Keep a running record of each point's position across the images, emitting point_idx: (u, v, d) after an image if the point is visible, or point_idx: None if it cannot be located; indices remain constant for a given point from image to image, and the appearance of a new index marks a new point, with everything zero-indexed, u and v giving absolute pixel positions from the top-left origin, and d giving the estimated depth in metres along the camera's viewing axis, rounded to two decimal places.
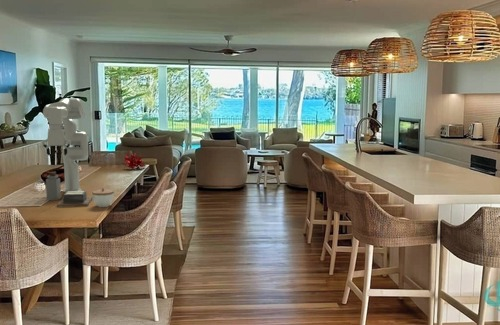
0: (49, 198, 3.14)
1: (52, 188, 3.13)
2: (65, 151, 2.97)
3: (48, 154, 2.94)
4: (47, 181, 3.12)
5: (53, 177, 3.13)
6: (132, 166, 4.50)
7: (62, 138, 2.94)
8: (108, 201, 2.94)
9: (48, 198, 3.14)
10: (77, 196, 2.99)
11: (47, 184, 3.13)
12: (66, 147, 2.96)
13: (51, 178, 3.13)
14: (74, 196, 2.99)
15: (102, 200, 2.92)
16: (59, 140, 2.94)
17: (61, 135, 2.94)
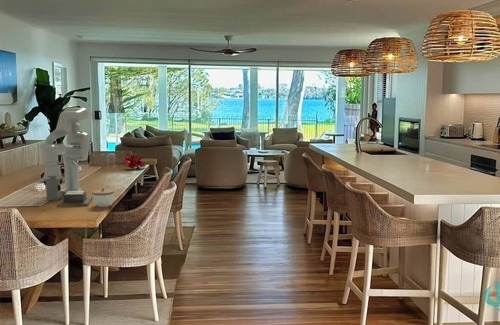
0: (49, 198, 3.14)
1: (52, 188, 3.13)
2: (58, 187, 3.16)
3: None
4: (47, 181, 3.12)
5: (53, 177, 3.13)
6: (132, 166, 4.50)
7: (58, 174, 3.14)
8: (108, 201, 2.94)
9: (48, 198, 3.14)
10: (77, 196, 2.99)
11: (47, 184, 3.13)
12: (59, 184, 3.16)
13: (51, 178, 3.13)
14: (74, 196, 2.99)
15: (102, 200, 2.92)
16: None
17: (57, 171, 3.13)
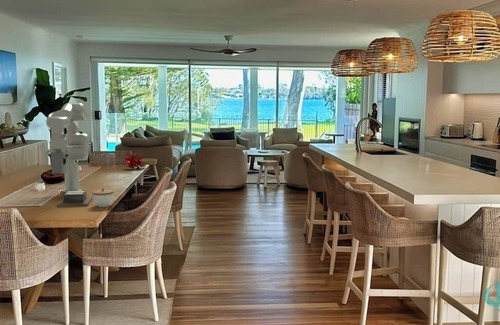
0: (54, 171, 3.07)
1: (57, 162, 3.07)
2: (64, 161, 3.09)
3: None
4: (52, 154, 3.06)
5: (58, 150, 3.07)
6: (132, 166, 4.50)
7: (63, 147, 3.07)
8: (108, 201, 2.94)
9: (53, 171, 3.07)
10: (77, 196, 2.99)
11: (52, 157, 3.06)
12: (65, 157, 3.09)
13: (56, 151, 3.07)
14: (74, 196, 2.99)
15: (102, 200, 2.92)
16: (61, 149, 3.07)
17: (62, 144, 3.07)
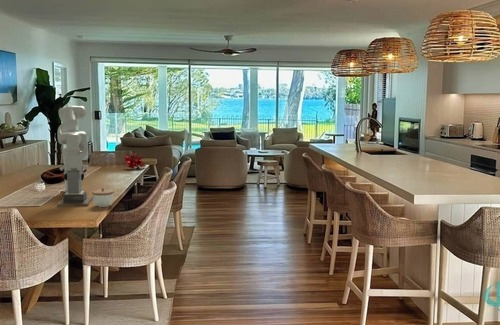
0: (70, 191, 3.01)
1: (73, 181, 3.01)
2: (82, 176, 3.03)
3: (66, 179, 3.01)
4: (68, 173, 3.00)
5: (74, 169, 3.01)
6: (132, 166, 4.50)
7: (79, 164, 3.01)
8: (108, 201, 2.94)
9: (69, 191, 3.01)
10: (77, 196, 2.99)
11: (68, 177, 3.00)
12: (83, 172, 3.03)
13: (72, 170, 3.01)
14: (74, 196, 2.99)
15: (102, 200, 2.92)
16: (76, 166, 3.01)
17: (78, 161, 3.00)
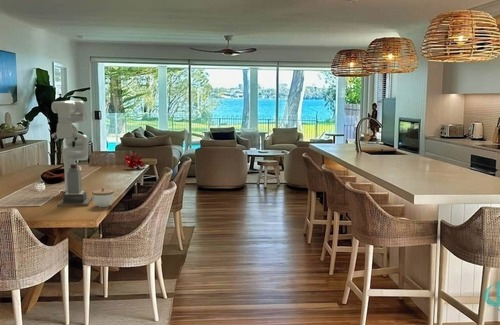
0: (70, 191, 3.01)
1: (73, 181, 3.01)
2: (73, 143, 3.13)
3: (57, 146, 3.11)
4: (68, 174, 3.00)
5: (74, 169, 3.01)
6: (132, 166, 4.50)
7: (70, 131, 3.11)
8: (108, 201, 2.94)
9: (69, 191, 3.01)
10: (77, 196, 2.99)
11: (68, 177, 3.00)
12: (74, 140, 3.13)
13: (72, 170, 3.01)
14: (74, 196, 2.99)
15: (102, 200, 2.92)
16: (67, 133, 3.10)
17: (69, 128, 3.10)
